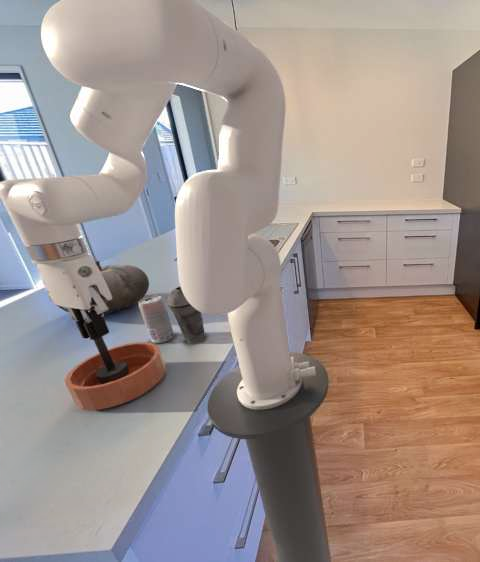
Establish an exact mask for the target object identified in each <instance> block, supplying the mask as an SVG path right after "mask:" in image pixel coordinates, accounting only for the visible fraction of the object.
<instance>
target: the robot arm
mask: <svg viewBox="0 0 480 562" xmlns="http://www.w3.org/2000/svg"><path fill="white" fill-rule="evenodd" d="M41 22H42V23H41V27H40V37H41V44H42V48H43V50H44V52H45V55H46V57H47V58H48V60H49V62H50V63H51V65H52V66H53V68H55V70H56V71H57V72H58V73H60V75H62V76H63V77H64V78H65V79H67V80H68V81H70V82H72V83H73V84H75V85H77V86H80V87H81V88H80V89H79V92H78V94H77V97H76V98H75V102H74V104H73V106H72V108H71V110H70V114H69V115H70V116H69V117H70V121H71V123H72V126H73V127H74V128H75V129H76V131H77V132H78V133H79V134H80V135H81V136H83V137H84V138H85V139H86V140H87V141H89V142H90V143H92V144H94V145H95V146H96V147H98V148H100V149H102V150H104V151H105V152H108V156H107V158H106V161H105V163H104V164H103V166H102V168H101V170H100V172H98V174H83V175H82V174H80V175H68V176H53V177H52V176H51V177H50V176H49V177H39V178H37V177H36V178H15V179H6V180H2V181H0V199H1V201H2V204H3V205H4V208H5V210H6V212H7V213H8V215H9V218H10V219H11V222H12V224H13V227H14V228H15V229H16V232H17V234H18V236H19V238H20V240H21V243H22V244H23V246H24V248H25V251H26V252H27V255H28V256H29V259H30V261H31V263H32V264H35V265H36V267H37V271H38V273H39V276H40V278H41V281H42V283H43V285H44V288H45V290H46V292H47V295H48V294H49V296H50V298H51V300H52V301H53V302H52V301H51V300H50V301H51V302H52V304H54V305H55V304H56V305H58V306H61V307H63V308H65V309H67V311H69V312H68V313H69V315H70V317H71V319H72V321H74V322H75V325H76V327H77V329H78V331H79V333H80V336H81V337H82V339H84V340H85V339H90V340H91V341H94V340H96V339H98V338H100V337H102V338H103V337H104V336H105V335H108V334H109V333H110V329H109V327H108V325H107V322H106V321H105V318H104V316H105V315H104V314H103V312H105V311H108V310H109V309H108V307H107V306H106V304H105V303H104V301H111V300H112V295H111V293H110V291H109V288H108V286H107V284H106V282H105V280H104V278H103V276H102V274H101V272H100V270H99V268H98V267H97V265H96V263H95V262H96V261H95V260H94V259H93V257H92V256H91V254H90V252H89V250H88V248H87V244H86V242H85V241H84V238H83V236H82V233H81V231H80V228H79V226H78V224H84V223H89V222H92V221H96V220H102V219H107V218H111V217H112V218H113V217H117V216H118V217H119V216H120V215H123V214H125V213H127V212H128V211H129V210H131V209H132V208H133V206H134V205H135V204H136V202H137V201H138V199H139V198H140V196H141V194H142V193H143V191H144V189H145V186H146V185H147V181H148V168H147V162H146V157H145V155H144V153H143V148H144V146H145V145H146V143H147V141H148V139H149V138H150V135H151V133H152V132H153V130H154V128H155V126H156V125H157V122H158V121H159V119H160V117H161V115H163V112H164V110H165V108H166V107H167V105H168V103H169V101H170V99H171V97H172V96H173V94H174V92H175V90H176V88H177V85H182V86H186V87H189V88H192V89H195V90H198V91H202V92H206V93H209V94H213V95H216V96H219V97H220V98H222V99H224V100H225V101H226V103H227V108H226V110H225V112H224V114H223V117H222V120H221V124H220V128H219V133H218V134H219V135H218V137H219V138H218V141H219V142H218V144H219V156H218V158H219V159H218V166H217V169H211V170H210V169H209V170H203V171H201V172H197V173H195V174H193V175H191V176H190V177H188V178H187V179H186V180H185V181H184V182H183V183H182V186H181V187H180V189H179V191H178V193H177V195H176V199H175V204H174V229H175V244H176V246H175V247H176V262H177V263H176V264H177V275H178V277H177V278H178V282H179V287H181V290H182V292H183V294H184V296H185V298H186V299H187V301H188V302H189V303H190V304H191V305H192V306H193V307H194V308H195V309H196V310H198V311H200V312H201V314H203V315H207V316H214V317H215V316H216V317H217V316H218V317H219V316H223V315H227V320H228V324H229V328H230V329H229V330H230V334H231V337H232V341H233V346H234V349H235V354H236V357H237V362H238V366H240V370H241V374H242V381H241V382H240V384H239V386H238V389H237V396H238V399H239V401H240V403H241V404H242V405H244V406H245V407H247V408H250V409H255V410H264V409H270V408H274V407H277V406H279V405H282V404H283V403H285V402H287V401H288V400H290V399H291V398H293V397H294V396H295V395H296V394H297V392H298V391H299V389H300V387H301V385H302V378H305V377H307V378H308V377H313V376H316V372H315V367H309V362H303V363H299V364H297V363H294V357H291V356H290V352H291V351H290V345H289V338H288V332H287V325H286V320H285V310H284V305H283V297H282V295H283V294H282V264H281V258H280V254H279V252H278V250H277V248H276V247H275V245H274V243H272V242H271V241H270V240H269V239H268V238H266V237H264V236H262V235H259V234H256V233H257V232H259V231H262V230H264V229H265V228H267V227H268V226H269V225H271V224H272V223H273V222H274V220H275V219H276V217H277V214H278V210H279V203H280V202H279V201H280V198H279V197H280V187H281V173H282V162H283V161H282V159H283V143H284V133H285V132H284V131H285V123H286V108H287V107H286V95H285V89H284V84H283V83H282V79H281V77H280V74H279V73H278V71H277V69H276V67H275V65H274V64H273V63H272V61H271V59H269V57H267V55H266V54H265V53H264V52H263V51H262V50H261V49H260V48H259V47H258V46H256V44H254V43H253V42H252V41H251V40H250V39H248V38H247V37H246V36H244V35H243V34H242V33H240V32H239V31H238V30H236V29H235V28H234V27H233V26H231V25H230V24H228V23H227V22H226V21H225V20H223V19H221V18H219V17H218V16H216V15H215V14H213V13H212V12H211V11H210V10H208V9H207V8H205V7H204V6H202V5H201V4H199V3H198V2H197V1H195V0H59V1H57V2H56V3H54V4H53V5H52V6H50V7H49V9H48V10H47V12H46V13H45V14H44V17H43V19H42V21H41ZM49 296H48V297H49ZM50 298H49V299H50ZM90 303H92V304H90ZM56 305H55V306H56ZM58 306H57V307H58ZM93 308H94V309H93ZM91 309H93V310H91ZM300 369H301V370H300Z"/></svg>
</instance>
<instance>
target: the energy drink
mask: <svg viewBox="0 0 480 562" xmlns="http://www.w3.org/2000/svg"><path fill="white" fill-rule="evenodd" d="M138 308H139V310H140V314H141V316H142V319H143V322H144V324H145V327H146V330H147V332H148V335H149V339H150V341H151V343H153V344H163V343H166V342H168V341H170V340H171V339H173V338H174V336H175V331H174V329H173V326H172V323H171V319H170V316H169V313H168V311H167V308H166V305H165V301H164V299H163V298H162V296H161V295H151V296H147V297H143V298H142V299H141V300H140V301H139V302H138Z"/></svg>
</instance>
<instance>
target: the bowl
mask: <svg viewBox="0 0 480 562" xmlns="http://www.w3.org/2000/svg"><path fill="white" fill-rule="evenodd" d="M107 349H108V351H109V354H110V356H111V358H112V360H113V363H114V362H119V361H123V362H126V364H127V366H128V369H129V373H128V375H127V376H125V377H123V378H120V379H118V380H115V381H112V382H109V383H105V384H101V383H99V381H98V379H97V376H96V372H97V371H98V370H99V369H100V368H102V367H104V366H105V364H104V362H103V360H102V358H101V355H100V353H99V352H98V353H95V354H94V355H92V356H90V357H88V358H85V360H83V361H81V362H80V363H78V364H77V365H76V366H74V368H72V369H71V370H70V371H69V372H68V373H67V375H66V377H65V379H64V383H65V386H66V387H67V390H68V392H69V394H70V396H71V397H72V399H73V401H74V403H75V405H76V406H77V407H78V408H79V409H82V410H85V411H86V410H87V411H100V410H104V409H110V408H114V407H117V406H122V405H123V404H126V403H128V402H129V403H130V402H131V401H133V400H135V399H137V398H139V397H141V396H142V395H144V394H146V393H147V392H148V391H150V390H151V389H152V388H154V387H155V386H156V385H157V384H159V382H160V381H161V380H162V379H163V378H164V376H165V374H166V373H167V370H166V368H167V365H166V363H165V360H164V358H163V354H162V353H161V349H160V347H159V346H158V345H157V343H154V342H149V341H136V342H129V343H125V344H121V345H117V346H114V347H111V348H107Z"/></svg>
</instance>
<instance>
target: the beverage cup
mask: <svg viewBox="0 0 480 562" xmlns="http://www.w3.org/2000/svg"><path fill="white" fill-rule="evenodd" d="M167 303H168V304H167V305H168V307H169V309H170V311H171V313H172V314H173V315H174V318H175V320H176V323H177V325H178V327H179V329H180V331H181V334H182V336H183V338H184V340H185V341H186V343H187V344H188V345H189V344H191V345H193V344H197V343H200V342H202V341H203V340H205V338H206V336H205V335H206V334H205V327H204V321H203V316H202V313H201V312H200V311H198V310H196V309H195V308H194V307H193V306H192V305H191V304H190V303H189V302H188V301H187V299H186V298H185V296H184V294H183V292H182V290H181V286H177V287H175V288H173V290H171V291H170V293H169V295H168V297H167Z"/></svg>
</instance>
